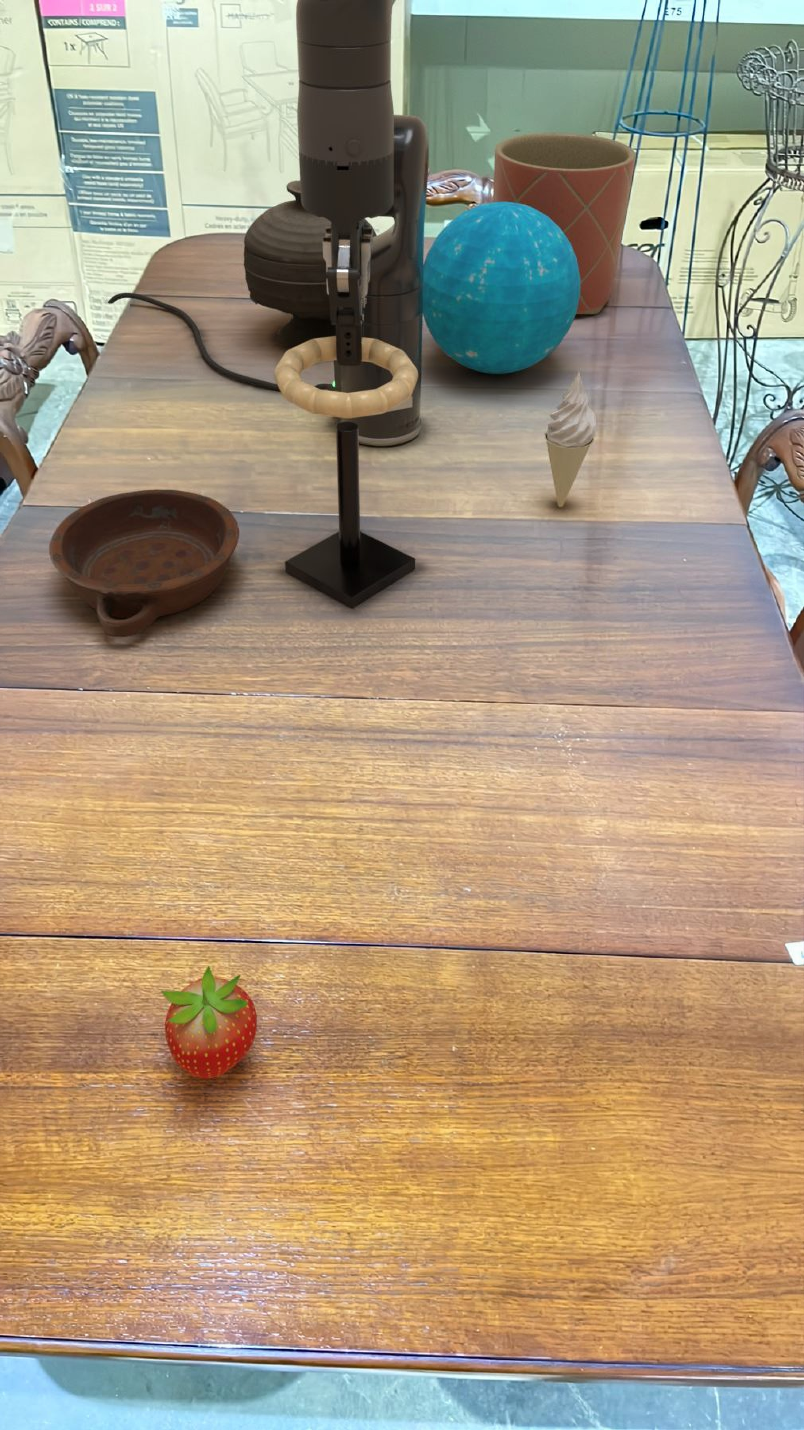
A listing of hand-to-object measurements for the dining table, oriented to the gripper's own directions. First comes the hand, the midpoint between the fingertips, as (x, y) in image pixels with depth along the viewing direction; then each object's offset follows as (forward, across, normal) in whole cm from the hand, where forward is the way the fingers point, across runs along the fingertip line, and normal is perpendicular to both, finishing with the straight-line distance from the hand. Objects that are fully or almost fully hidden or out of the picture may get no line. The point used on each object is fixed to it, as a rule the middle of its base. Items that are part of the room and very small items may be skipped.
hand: (350, 356), depth 96 cm
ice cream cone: (+20, -8, +21) cm, 30 cm away
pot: (+20, -52, -9) cm, 56 cm away
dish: (+20, +8, -19) cm, 28 cm away
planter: (+19, -68, +24) cm, 75 cm away
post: (+19, +5, 0) cm, 20 cm away
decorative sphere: (+20, -43, +15) cm, 50 cm away
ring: (0, +5, 0) cm, 5 cm away
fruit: (+20, +59, -4) cm, 62 cm away
